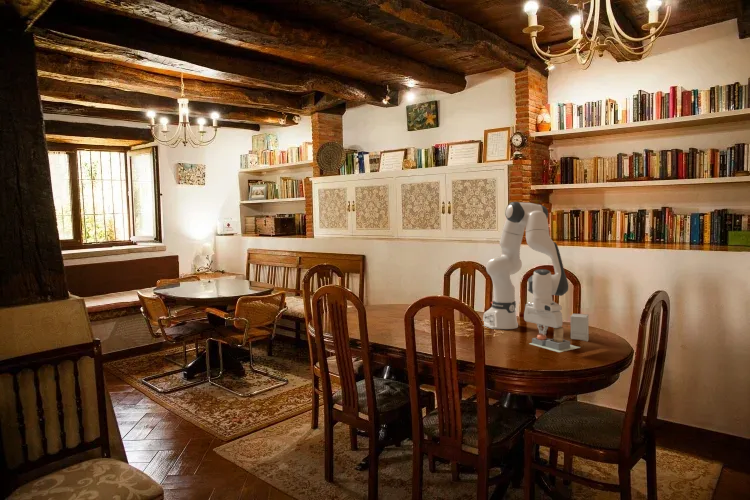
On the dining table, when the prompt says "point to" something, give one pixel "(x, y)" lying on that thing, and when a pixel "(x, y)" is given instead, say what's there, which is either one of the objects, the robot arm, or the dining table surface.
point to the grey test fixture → (553, 345)
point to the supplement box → (579, 327)
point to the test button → (541, 337)
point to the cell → (558, 335)
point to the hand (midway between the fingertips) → (542, 334)
